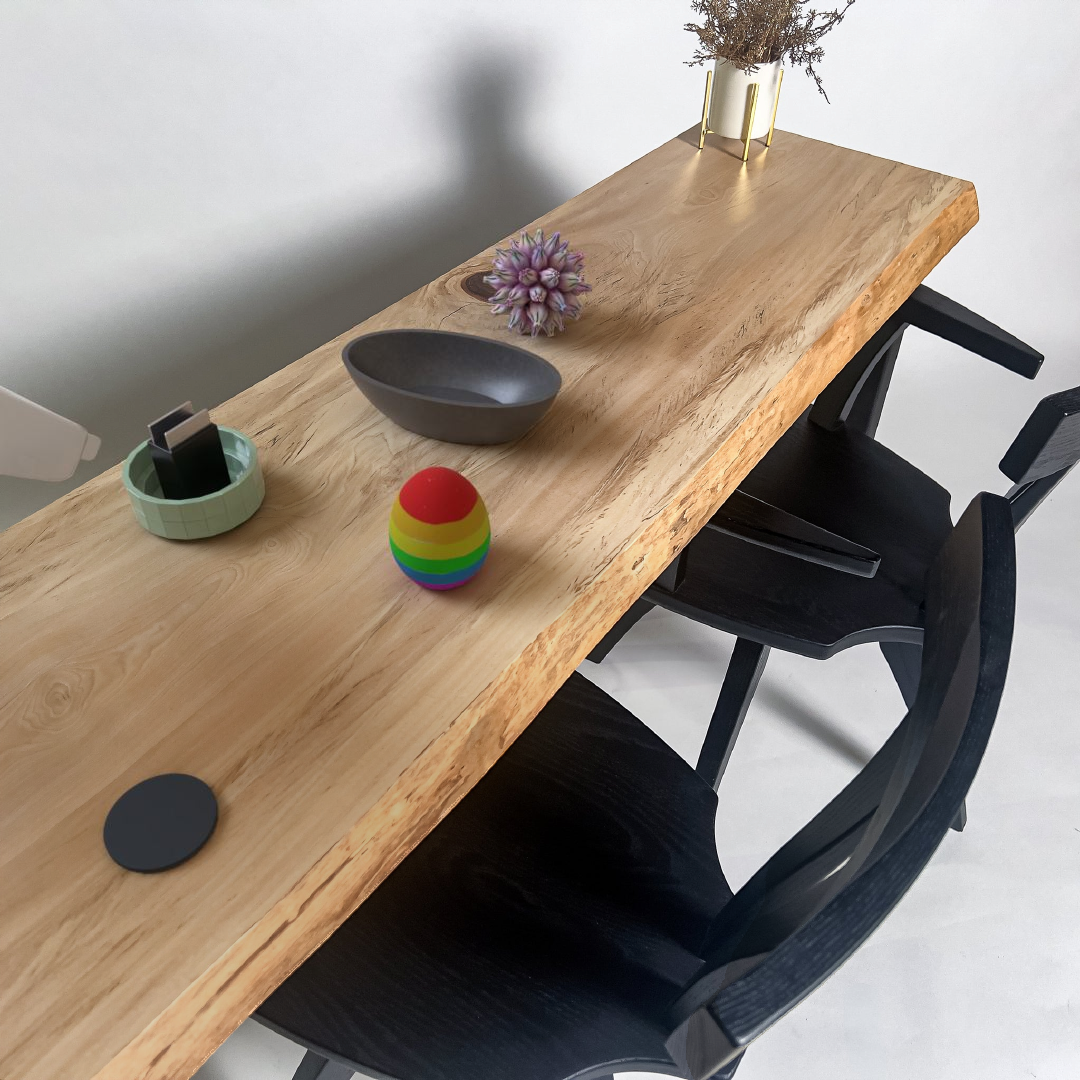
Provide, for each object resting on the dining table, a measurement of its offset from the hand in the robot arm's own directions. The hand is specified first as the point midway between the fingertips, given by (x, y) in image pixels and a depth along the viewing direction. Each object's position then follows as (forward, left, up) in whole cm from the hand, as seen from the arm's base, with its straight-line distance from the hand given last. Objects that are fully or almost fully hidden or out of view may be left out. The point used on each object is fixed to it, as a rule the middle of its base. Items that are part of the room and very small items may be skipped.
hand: (48, 424), depth 70 cm
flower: (+53, -2, -15) cm, 55 cm away
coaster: (-11, -24, -15) cm, 30 cm away
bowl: (+34, -7, -15) cm, 38 cm away
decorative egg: (+18, -21, -15) cm, 31 cm away
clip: (+10, +1, -14) cm, 17 cm away
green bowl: (+10, +1, -15) cm, 18 cm away
